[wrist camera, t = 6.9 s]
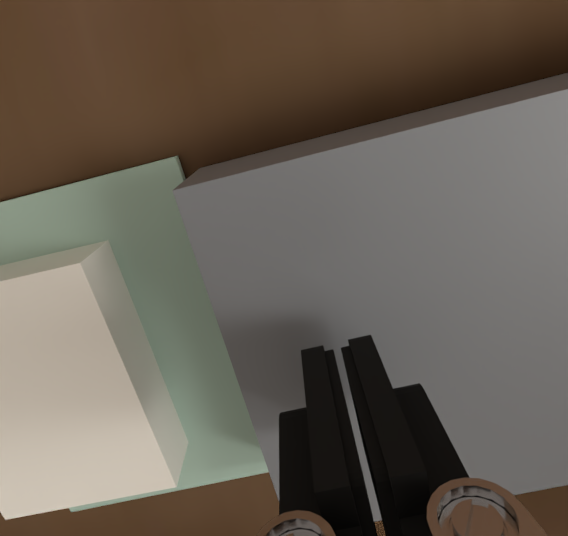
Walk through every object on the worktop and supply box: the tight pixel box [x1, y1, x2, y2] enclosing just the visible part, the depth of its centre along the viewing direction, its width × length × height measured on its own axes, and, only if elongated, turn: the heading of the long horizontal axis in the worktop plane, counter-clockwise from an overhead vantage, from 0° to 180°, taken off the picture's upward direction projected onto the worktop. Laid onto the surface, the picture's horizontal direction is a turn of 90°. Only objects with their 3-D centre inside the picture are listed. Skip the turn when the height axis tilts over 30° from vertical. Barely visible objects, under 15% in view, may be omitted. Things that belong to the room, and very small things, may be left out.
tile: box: [0, 240, 188, 520], centre depth 14 cm, size 6×8×2 cm
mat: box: [0, 156, 269, 512], centre depth 15 cm, size 8×12×1 cm
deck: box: [172, 73, 568, 522], centre depth 12 cm, size 15×11×4 cm
